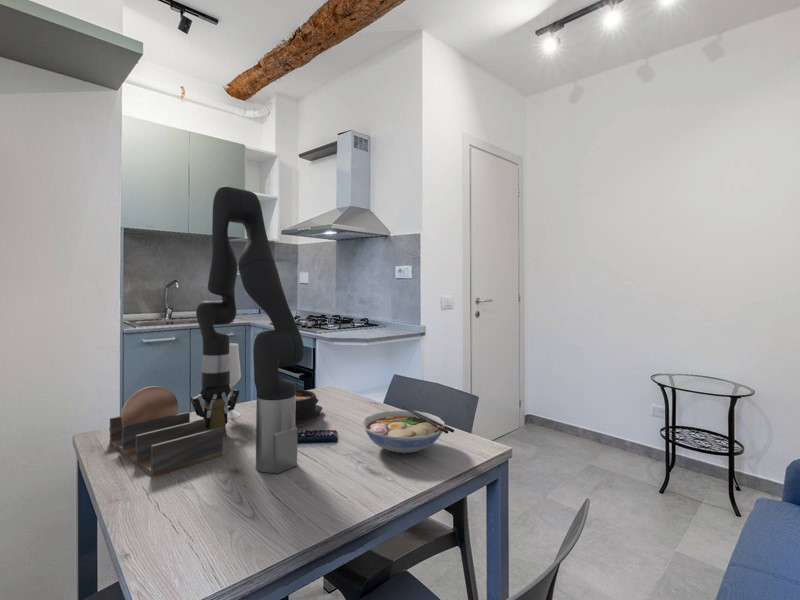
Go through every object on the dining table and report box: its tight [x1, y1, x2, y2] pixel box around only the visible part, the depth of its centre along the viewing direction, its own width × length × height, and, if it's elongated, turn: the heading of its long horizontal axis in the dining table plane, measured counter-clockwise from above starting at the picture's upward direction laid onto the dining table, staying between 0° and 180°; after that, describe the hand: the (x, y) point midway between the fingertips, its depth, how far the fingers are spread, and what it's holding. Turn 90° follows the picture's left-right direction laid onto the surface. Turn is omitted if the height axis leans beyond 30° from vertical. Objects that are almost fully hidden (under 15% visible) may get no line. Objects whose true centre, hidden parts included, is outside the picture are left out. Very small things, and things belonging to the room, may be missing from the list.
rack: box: [109, 385, 224, 478], centre depth 108 cm, size 30×16×15 cm, turn 51°
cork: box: [205, 398, 227, 438], centre depth 119 cm, size 6×6×11 cm
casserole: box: [295, 389, 323, 426], centre depth 134 cm, size 25×19×8 cm
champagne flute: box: [227, 342, 242, 420], centre depth 137 cm, size 7×7×24 cm
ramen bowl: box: [361, 405, 455, 455], centre depth 112 cm, size 25×23×8 cm
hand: (215, 427), depth 119 cm, fingers closed on cork, 3 cm apart
